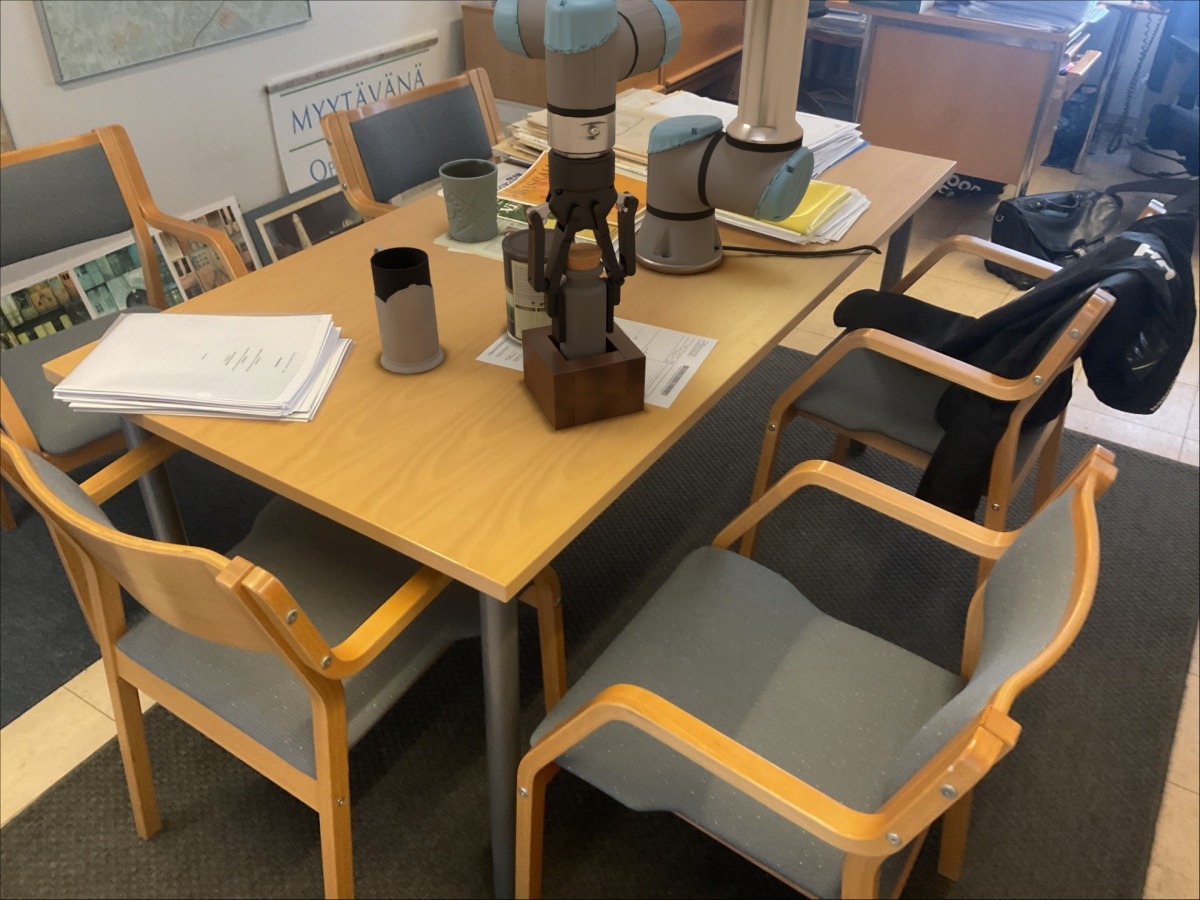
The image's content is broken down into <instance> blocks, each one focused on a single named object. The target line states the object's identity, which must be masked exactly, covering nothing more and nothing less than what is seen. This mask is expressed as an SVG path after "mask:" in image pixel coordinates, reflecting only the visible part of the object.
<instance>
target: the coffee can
mask: <svg viewBox="0 0 1200 900" xmlns="http://www.w3.org/2000/svg"><path fill="white" fill-rule="evenodd" d="M544 229H545V262H544V273H545V269H546V265H547V261H548V257H549V254H550V250H551V246H552V242H553V239H554V235H555V231H554V228H551V227H550V228H549V227H544ZM573 243H577V242H576V239H575V238H574V241H573V242H571V244H573ZM501 250H502V260H503V274H504V292H505V305H506V324H507V329H506V330H507V331H506V332H507V336H508V337H509V339H510V340H511V341H513V342H514V343H516V344H518V345H521V346H522V330H526V329H531V328H537V327H543V326H548V325H552V318H549V316H548V315H547V314H546V312H545V310H544V292H539V293H538V292H535V290H534V289H533V288H532V287H531V285H530V284H529V283H528V228H525V229H519V230H516V231H513V232H511V233H509V234H507V235H506V236H505V237H504V238H503V239H502V240H501ZM565 277H566V276H565V275H562V278H561V280H562V279H563V278H565Z"/></svg>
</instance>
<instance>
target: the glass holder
mask: <svg viewBox="0 0 1200 900" xmlns="http://www.w3.org/2000/svg"><path fill="white" fill-rule="evenodd" d="M369 262H370V269H371V275H372V282H373V288H374V293H373V296H374V297H373V298H374V303H375V304H374V305H375V311H376V317H377V323H378V330H379V337H380V344H381V349H382V354H381V356H380V364H381V365H382V367H383V368H384V369H386V370H388V371H390V372H392V373H396V374H403V375H410V374H411V375H413V374H419V373H424V372H427V371H430V370H432V369H435V368H436V367H437V366H439V365H440V364H441V363H442V362H443V360H444V358H445V355H444V351H443V350H442V348H441V346H440V337H439V330H438V321H437V312H436V303H435V295H434V294H435V293H434V286H433V284H432V279H431V277H432V276H431V269H430V261H429V255H428V253H427V252H426V251H425V250H423V249H422V248H421V249H420V248H417V247H411V246H397V247H389V248H385V249H384V248H383V247H382V246H379V245H378V246H374V248H373V255H372V256H371V257H370V260H369Z"/></svg>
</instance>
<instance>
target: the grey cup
mask: <svg viewBox="0 0 1200 900" xmlns="http://www.w3.org/2000/svg"><path fill="white" fill-rule="evenodd" d="M498 172H499V168H498V165H497V164H496V163H495V162H492V161H490V160H486V159H479V158H463V159H456V160H451V161H448V162H446V163H444V164H443V165H441V166H440V167H439V169H438V173H439V179H440V183H441V184H440V185H441V186H442V193H443V194H442V195H443V199H444V202H445V210H446V213H447V215H446V216H447V222H448V228H449V234H450V236H451V237H452V238H453V239H455V241H460V242H466V243H479V242H480V243H481V242H485V241H488V240H489V241H490V240H491V239H493V238H494V237H496V236H497V234H498V221H497V220H498Z"/></svg>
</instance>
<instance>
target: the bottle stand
mask: <svg viewBox="0 0 1200 900" xmlns="http://www.w3.org/2000/svg"><path fill="white" fill-rule="evenodd" d="M521 346H522V347H521V348H522V368H523V383H524V385H525V387H526V388H527V389H528V391H529V393H530V394H531V395H532V397H533V398H534V400H535V401H536V403H537V405H538V406H539V407H540V409H541V411H542V412H543V413H544V415H545V416H546V418H547V419H548V421H549V422H550V424H551V425H552V428H553V429H554V430H555V431H556V430H561V429H566V428H570V427H574V426H578V425H583V424H588V423H593V422H596V421H601V420H606V419H610V418H614V417H619V416H623V415H629V414H632V413H633V414H634V413H637V412H642V411H644V410H645V391H646V389H645V387H646V370H647V369H646V367H647V366H646V365H647V356H646V354H644V352H643V351H642V350H641V349H640V348H639V347H638V346H637V344H636V343H634V341H633V340H632V339H631V338H630V337H629V336H628V335H627V334H626V332H624V330H623V329H622V328H621V327H620V326H619V325H618V323H616V321H614V333H610V334H608V333H607V332H606V353H604V354H599V355H594V356H589V357H584V358H579V359H574V360H569V361H566V360H565V359H564V357H563V356H562V355H561V353H560V343H559V342H558V341H557V339H556V338H555V337H554V336H553V334H552V325H548V326H543V327H537V328H531V329H526V330H522V345H521Z"/></svg>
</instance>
